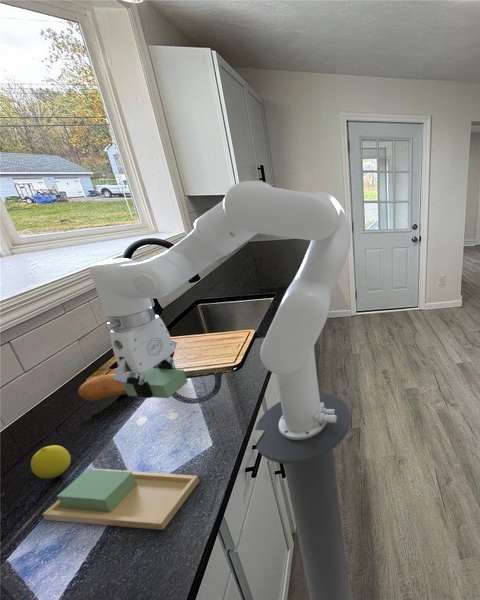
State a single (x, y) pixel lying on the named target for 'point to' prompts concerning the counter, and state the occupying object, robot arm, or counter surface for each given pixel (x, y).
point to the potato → (101, 388)
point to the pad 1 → (97, 490)
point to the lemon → (50, 461)
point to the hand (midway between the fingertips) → (157, 386)
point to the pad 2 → (161, 382)
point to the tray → (136, 503)
